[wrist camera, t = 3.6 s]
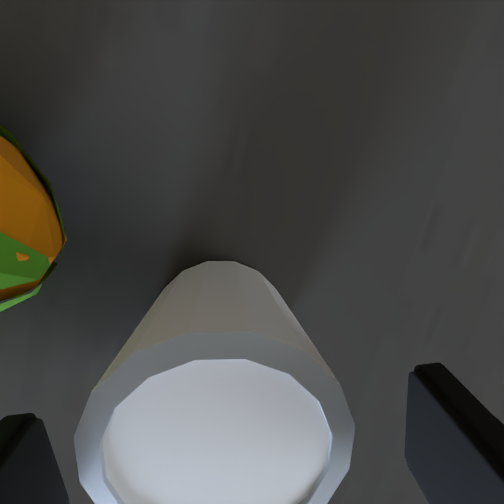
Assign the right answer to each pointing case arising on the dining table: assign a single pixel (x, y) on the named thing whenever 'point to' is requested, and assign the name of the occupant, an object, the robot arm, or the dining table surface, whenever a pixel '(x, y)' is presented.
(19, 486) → the robot arm
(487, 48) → the dining table surface
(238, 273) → the shot glass
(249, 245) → the dining table surface
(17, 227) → the corn
